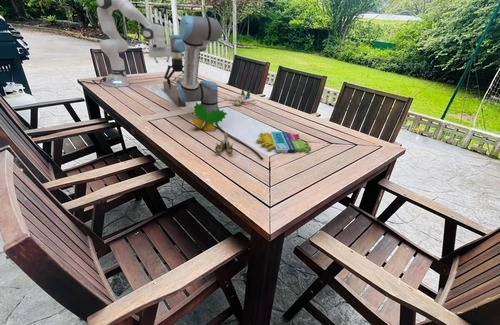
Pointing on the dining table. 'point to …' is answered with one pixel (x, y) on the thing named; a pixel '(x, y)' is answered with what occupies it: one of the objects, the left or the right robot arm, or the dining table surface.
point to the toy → (241, 99)
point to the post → (173, 94)
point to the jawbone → (224, 145)
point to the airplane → (179, 80)
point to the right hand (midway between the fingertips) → (179, 87)
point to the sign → (283, 142)
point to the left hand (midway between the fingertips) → (162, 62)
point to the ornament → (207, 117)
